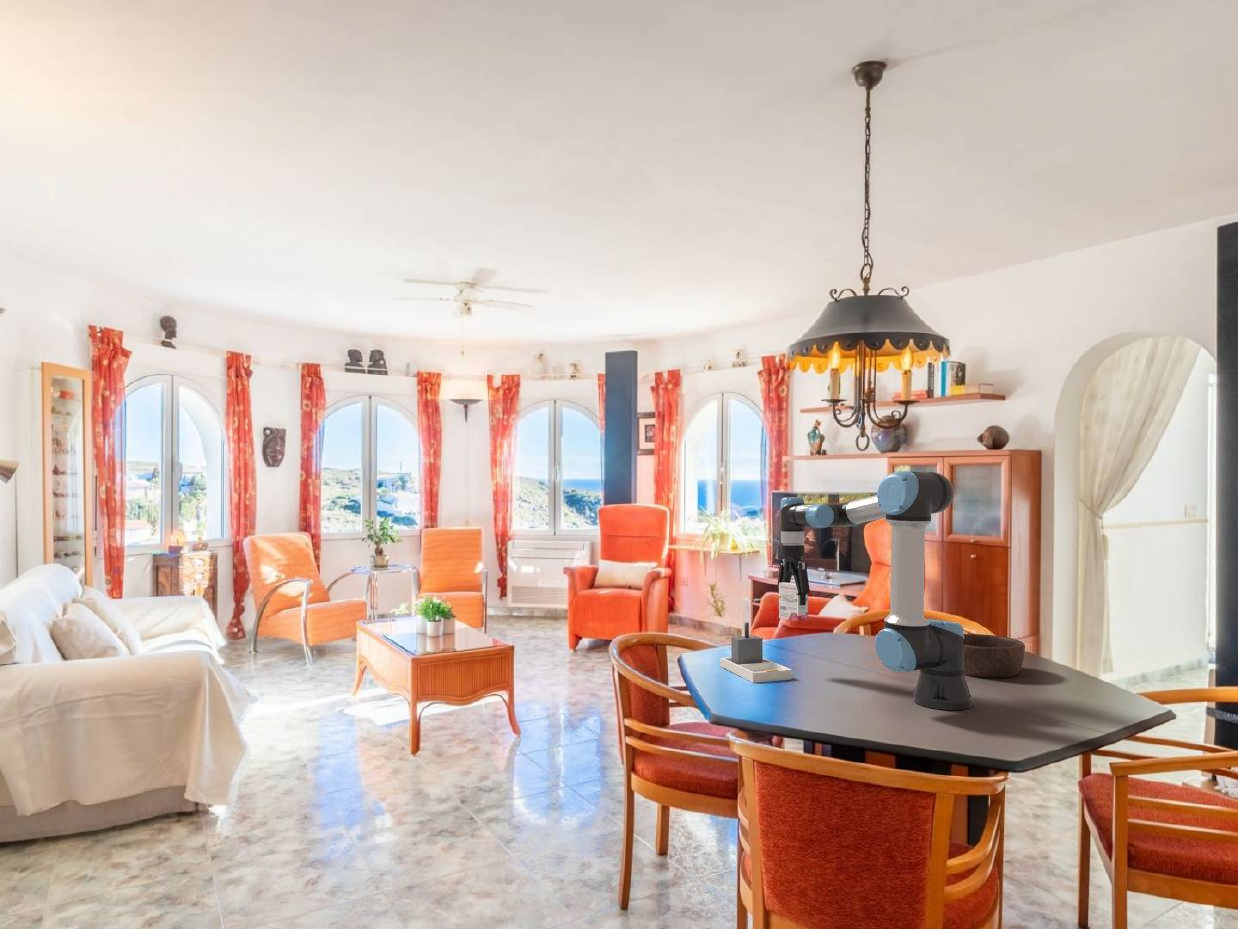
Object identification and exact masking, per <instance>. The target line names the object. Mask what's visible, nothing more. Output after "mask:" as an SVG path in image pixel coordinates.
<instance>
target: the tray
mask: <svg viewBox="0 0 1238 929" xmlns="http://www.w3.org/2000/svg"><path fill="white" fill-rule="evenodd" d="M719 660H720V661H719V664H720V665H719V666H720V667H719V668H721V669H723V670H725V671H727V672H730V673H731V674H734V675H736V676H738V677H740V678H741V679H744V680H745V681H746V680H747V681H749V682H750V683H764V682H765V683H767V682H777V681H778V682H779V681H787V680H789V681H790V680H793V669H791V668H789V667H787V666H785V665H782V664H780V663H776V662H774V661H772V660H769V659H767V658H764V657H763V663H753V664H741V665H737V664H735V663H733V662H732V656H731V657H730V656H729V657H720V658H719Z"/></svg>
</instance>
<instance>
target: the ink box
mask: <svg viewBox="0 0 1238 929" xmlns="http://www.w3.org/2000/svg"><path fill="white" fill-rule="evenodd" d="M797 593H798V590H797V587H796V583H795V582H790V583H779V588H778V613H779V614H778V618H779V619H781V620H786V621H792V622H798V623H799V622H804V621H808V620H809V608H808V607H809V605H808V603H809V599H808V596H809V595H808V594H807V595H806V615H802V616H798V615H797Z"/></svg>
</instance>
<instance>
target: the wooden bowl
mask: <svg viewBox="0 0 1238 929" xmlns="http://www.w3.org/2000/svg"><path fill="white" fill-rule="evenodd" d="M964 637H965V639H964V673H965V676H970V677H975V678H976V677H979V678H989V679H1002V678H1003V679H1004V678H1005V679H1006V678H1012V677H1015V676H1016V675H1017V674H1019V672H1020V670H1021V668H1022V666H1023V663H1024V657H1025V651H1026V645H1025V643H1024V642H1022V641H1021V640H1019V639H1016V638H1012V637H1007V636H1000V635H994V634H985V633H984V634H982V633H980V634H979V633H964Z"/></svg>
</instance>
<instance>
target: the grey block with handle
mask: <svg viewBox="0 0 1238 929" xmlns="http://www.w3.org/2000/svg"><path fill="white" fill-rule="evenodd" d="M749 623H750V622H747V621H746V622H744V635H743V636H732V637H731V636H730V638H731V640H730V641H731V644H730V645H731V646H730V647H731V648H730V649H731V657H732V662H733V663H735V664H737V665H741V664H753V663H763V658H764V657H763V654H764V653H763V651H764V650H763V647H764V646H763V637H760V636H758V635H750V629H749V628H750V624H749Z"/></svg>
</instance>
